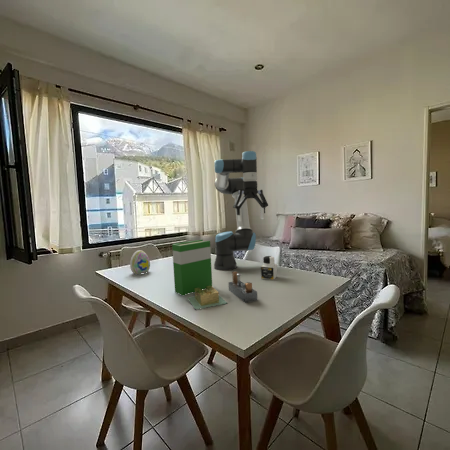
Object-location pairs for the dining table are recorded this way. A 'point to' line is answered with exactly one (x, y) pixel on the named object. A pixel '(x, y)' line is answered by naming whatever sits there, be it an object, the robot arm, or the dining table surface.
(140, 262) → the decorative egg
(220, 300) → the mat
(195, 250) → the hardback book
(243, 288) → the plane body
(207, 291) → the lever cap
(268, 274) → the medicine bottle
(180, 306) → the dining table surface
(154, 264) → the dining table surface
